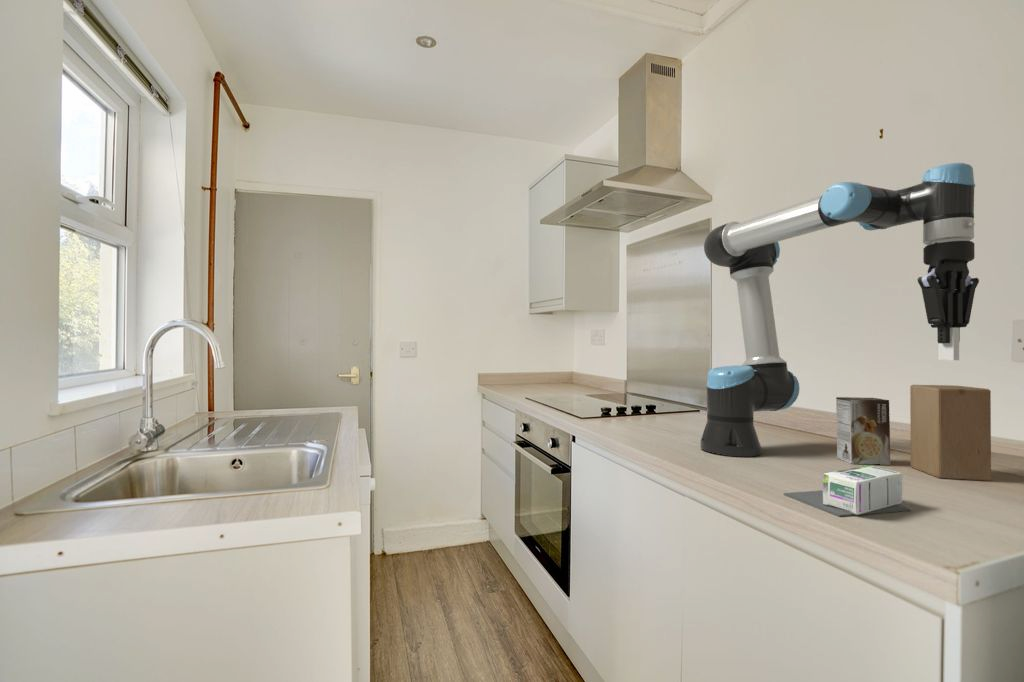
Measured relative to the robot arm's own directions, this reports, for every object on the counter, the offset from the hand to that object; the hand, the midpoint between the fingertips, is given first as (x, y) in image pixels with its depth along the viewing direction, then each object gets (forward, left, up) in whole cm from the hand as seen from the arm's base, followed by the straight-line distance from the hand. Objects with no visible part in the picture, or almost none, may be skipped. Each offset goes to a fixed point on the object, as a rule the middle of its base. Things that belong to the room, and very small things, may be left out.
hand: (948, 359), depth 93 cm
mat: (-6, -27, -26) cm, 38 cm away
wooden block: (-6, +17, -27) cm, 32 cm away
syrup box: (-3, -18, -23) cm, 30 cm away
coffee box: (-21, +12, -27) cm, 36 cm away
